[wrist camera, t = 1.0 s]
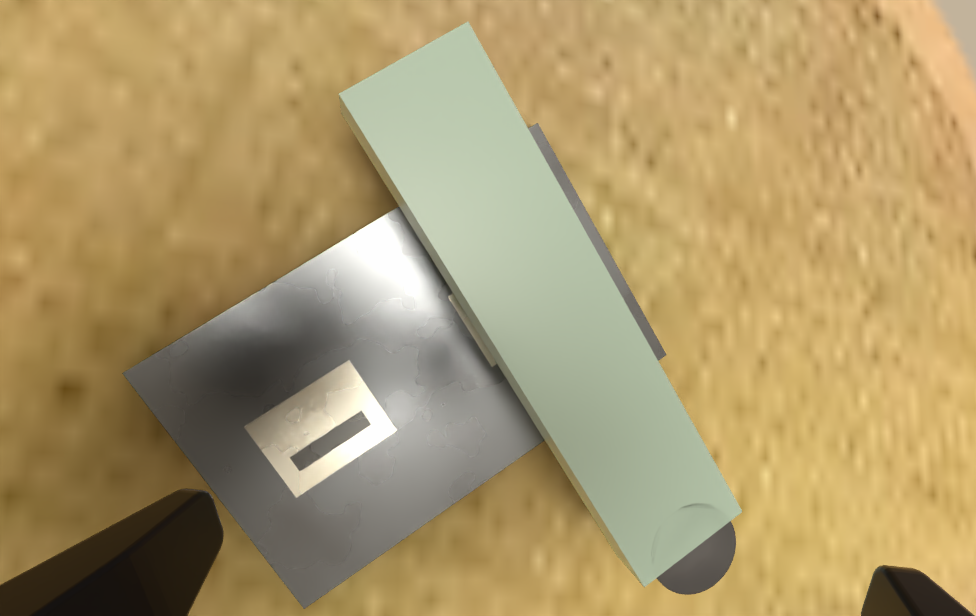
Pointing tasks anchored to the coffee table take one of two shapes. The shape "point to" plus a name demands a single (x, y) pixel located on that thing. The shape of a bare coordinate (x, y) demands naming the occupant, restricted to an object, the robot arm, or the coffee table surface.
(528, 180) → the swing arm
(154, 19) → the coffee table surface
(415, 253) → the label panel
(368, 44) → the coffee table surface
